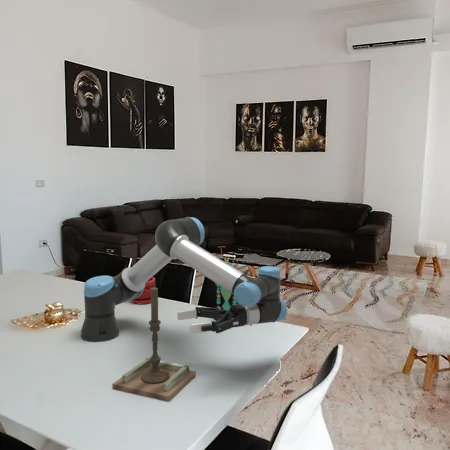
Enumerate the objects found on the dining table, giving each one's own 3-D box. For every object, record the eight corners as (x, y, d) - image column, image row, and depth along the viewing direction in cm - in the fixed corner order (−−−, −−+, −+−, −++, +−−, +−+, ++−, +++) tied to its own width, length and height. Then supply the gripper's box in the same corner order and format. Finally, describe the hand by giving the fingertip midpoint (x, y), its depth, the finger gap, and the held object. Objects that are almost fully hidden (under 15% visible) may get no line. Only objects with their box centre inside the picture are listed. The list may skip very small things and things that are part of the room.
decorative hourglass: (210, 323, 202) (210, 256, 198) (219, 316, 212) (220, 252, 208) (233, 326, 197) (234, 258, 194) (242, 319, 207) (242, 254, 204)
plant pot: (142, 296, 242) (142, 274, 241) (160, 300, 235) (160, 278, 233) (123, 302, 232) (123, 279, 230) (142, 307, 224) (141, 283, 222)
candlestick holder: (164, 385, 141) (163, 290, 137) (136, 382, 143) (134, 289, 139) (173, 372, 150) (172, 283, 146) (147, 369, 151) (145, 281, 148)
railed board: (112, 388, 142) (112, 377, 141) (143, 365, 158) (143, 355, 158) (169, 401, 134) (169, 390, 134) (195, 375, 151) (195, 365, 150)
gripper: (260, 337, 145) (196, 347, 137) (229, 314, 168) (173, 321, 159) (260, 315, 144) (196, 323, 136) (229, 294, 167) (173, 300, 159)
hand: (183, 322), depth 148 cm, fingers open, 13 cm apart
